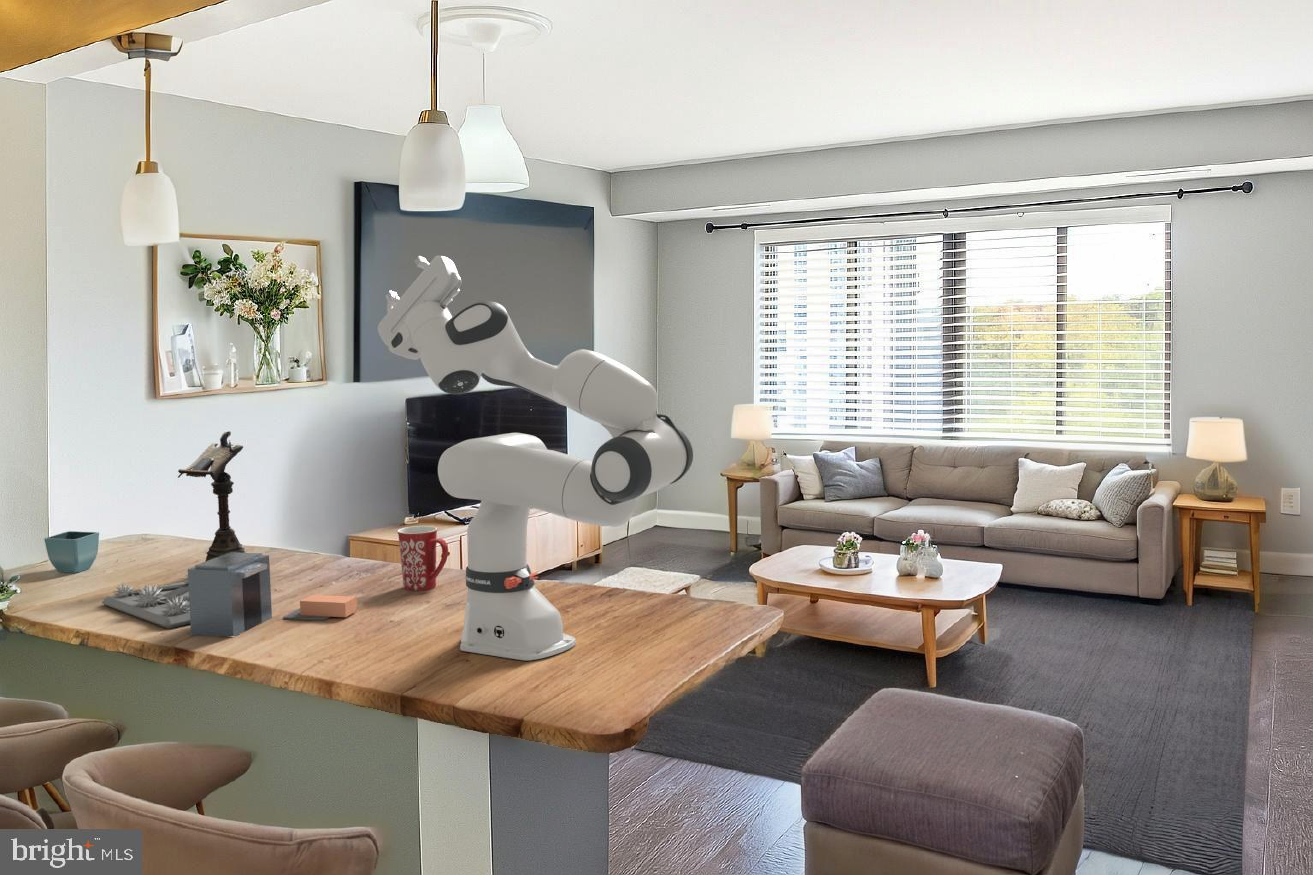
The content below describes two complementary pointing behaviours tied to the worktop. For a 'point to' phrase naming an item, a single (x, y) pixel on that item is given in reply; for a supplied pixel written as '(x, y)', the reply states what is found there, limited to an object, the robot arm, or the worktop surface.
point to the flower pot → (72, 550)
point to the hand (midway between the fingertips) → (404, 276)
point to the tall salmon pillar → (328, 605)
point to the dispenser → (229, 594)
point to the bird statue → (218, 492)
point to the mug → (420, 557)
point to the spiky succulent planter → (154, 603)
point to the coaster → (304, 616)
